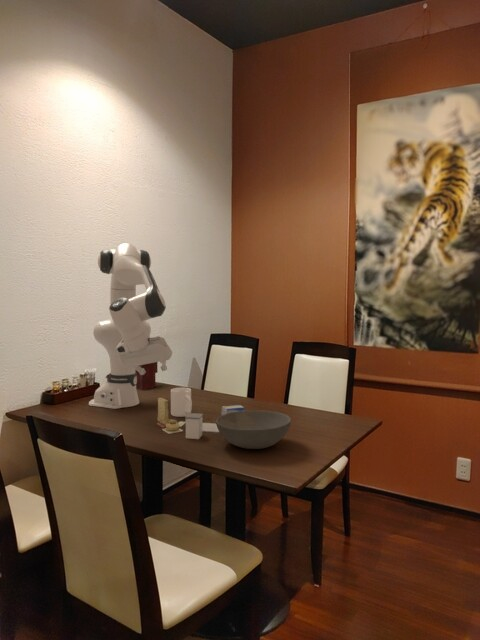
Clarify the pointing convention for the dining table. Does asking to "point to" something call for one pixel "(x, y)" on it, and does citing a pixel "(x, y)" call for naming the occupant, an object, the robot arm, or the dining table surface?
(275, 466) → the dining table surface
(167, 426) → the gold angular piece
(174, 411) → the mug
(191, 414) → the grey rectangular block
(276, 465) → the dining table surface
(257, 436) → the bowl
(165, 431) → the marks
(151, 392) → the dining table surface
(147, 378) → the red canister
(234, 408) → the medicine box
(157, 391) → the dining table surface
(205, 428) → the mat
